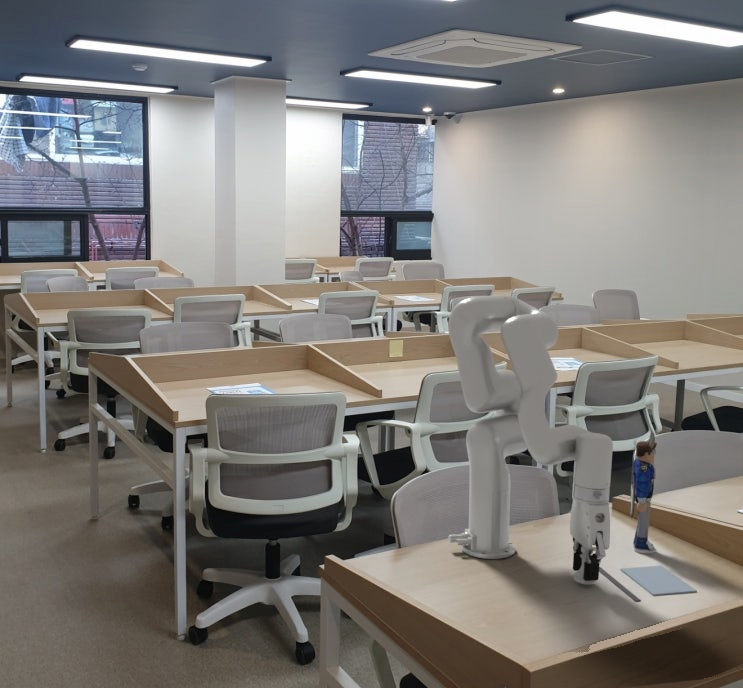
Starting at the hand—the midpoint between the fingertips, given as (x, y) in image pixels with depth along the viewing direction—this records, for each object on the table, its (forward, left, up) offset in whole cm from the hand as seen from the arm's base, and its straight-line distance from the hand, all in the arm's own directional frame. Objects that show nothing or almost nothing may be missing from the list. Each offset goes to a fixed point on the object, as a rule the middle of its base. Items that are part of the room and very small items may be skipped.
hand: (585, 574), depth 182 cm
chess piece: (0, 0, -2) cm, 2 cm away
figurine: (+22, +17, -3) cm, 28 cm away
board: (+14, -1, -2) cm, 14 cm away
